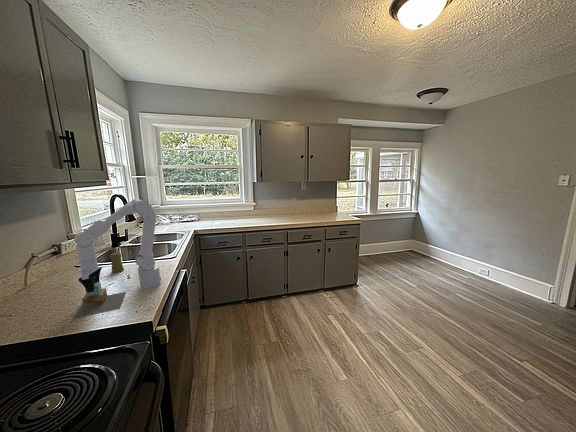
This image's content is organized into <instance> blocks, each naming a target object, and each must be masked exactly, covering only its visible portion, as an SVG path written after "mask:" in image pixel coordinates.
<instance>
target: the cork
mask: <svg viewBox="0 0 576 432" xmlns="http://www.w3.org/2000/svg"><path fill="white" fill-rule="evenodd" d="M121 258H122V254H121V253H120V252H114V253H111V254H110V255H109V259H110V260H111V273H112V274H119V272H120V273H122V272H125V271H124V270H125V268H124V266H123V263H122V259H121Z"/></svg>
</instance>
